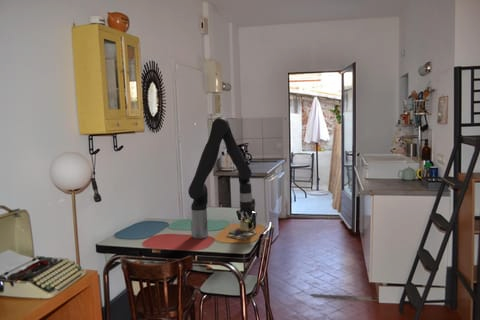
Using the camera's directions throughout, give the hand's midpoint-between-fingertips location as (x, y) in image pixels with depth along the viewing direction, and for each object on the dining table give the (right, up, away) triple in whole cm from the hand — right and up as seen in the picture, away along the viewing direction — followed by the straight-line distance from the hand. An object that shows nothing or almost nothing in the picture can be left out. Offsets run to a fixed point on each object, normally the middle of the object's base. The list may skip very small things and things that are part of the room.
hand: (247, 227), depth 240 cm
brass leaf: (0, -1, 0) cm, 1 cm away
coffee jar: (+1, -3, +22) cm, 22 cm away
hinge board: (-3, -5, +3) cm, 7 cm away
